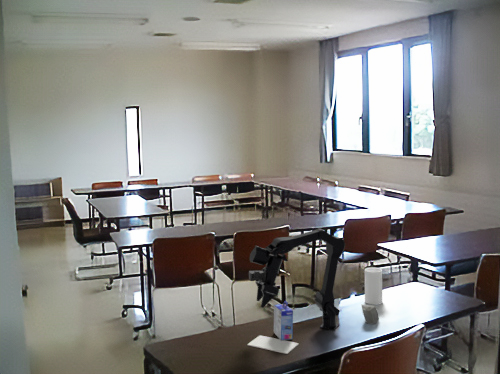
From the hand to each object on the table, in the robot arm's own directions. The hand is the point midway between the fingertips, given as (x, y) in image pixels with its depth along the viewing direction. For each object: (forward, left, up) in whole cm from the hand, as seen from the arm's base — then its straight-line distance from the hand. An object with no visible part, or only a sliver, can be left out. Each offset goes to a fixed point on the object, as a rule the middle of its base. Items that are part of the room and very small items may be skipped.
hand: (259, 304), depth 218 cm
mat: (+3, +7, -15) cm, 17 cm away
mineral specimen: (-36, +34, -15) cm, 52 cm away
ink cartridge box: (-6, +7, -15) cm, 17 cm away
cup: (-62, +27, -15) cm, 69 cm away
